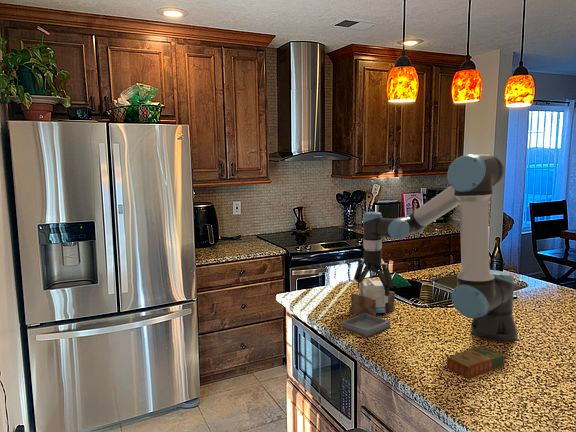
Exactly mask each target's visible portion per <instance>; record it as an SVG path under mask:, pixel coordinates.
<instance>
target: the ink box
mask: <svg viewBox="0 0 576 432" xmlns="http://www.w3.org/2000/svg"><path fill="white" fill-rule="evenodd" d="M367 279H368V280H364V281H362V296H364V297H368V298H372V299H375V300H376V314H383V313H385V314H386V309H385V304H383V288H384V286H383V284H382V282H381V280H380V279H379V280H372V279H371V278H370V277H367Z"/></svg>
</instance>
